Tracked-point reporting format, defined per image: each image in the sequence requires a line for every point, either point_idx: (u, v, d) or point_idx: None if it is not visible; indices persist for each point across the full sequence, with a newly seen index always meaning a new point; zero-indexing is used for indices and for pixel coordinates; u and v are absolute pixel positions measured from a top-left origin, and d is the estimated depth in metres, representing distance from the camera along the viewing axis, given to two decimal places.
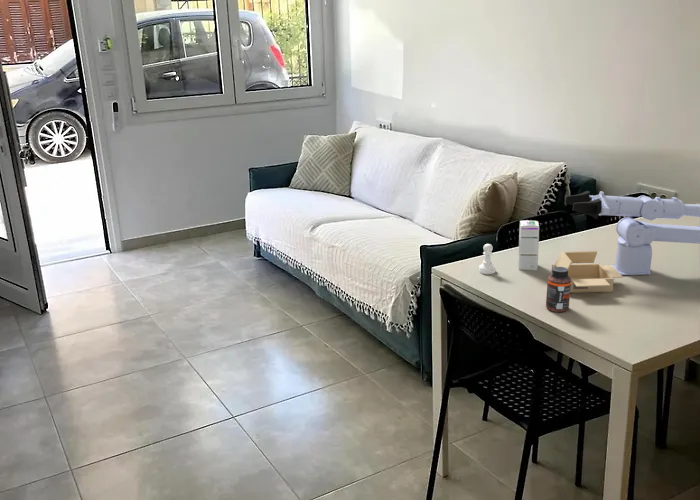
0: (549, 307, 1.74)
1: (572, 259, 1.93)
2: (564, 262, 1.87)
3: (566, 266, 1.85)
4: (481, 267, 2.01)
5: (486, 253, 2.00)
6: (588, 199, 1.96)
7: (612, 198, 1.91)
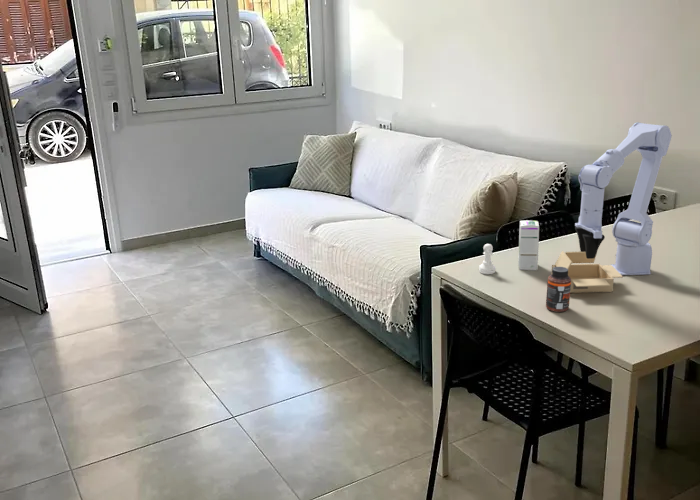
0: (549, 307, 1.74)
1: (572, 259, 1.93)
2: (564, 262, 1.87)
3: (566, 266, 1.85)
4: (481, 267, 2.01)
5: (486, 253, 2.00)
6: (584, 229, 1.86)
7: (583, 216, 1.80)
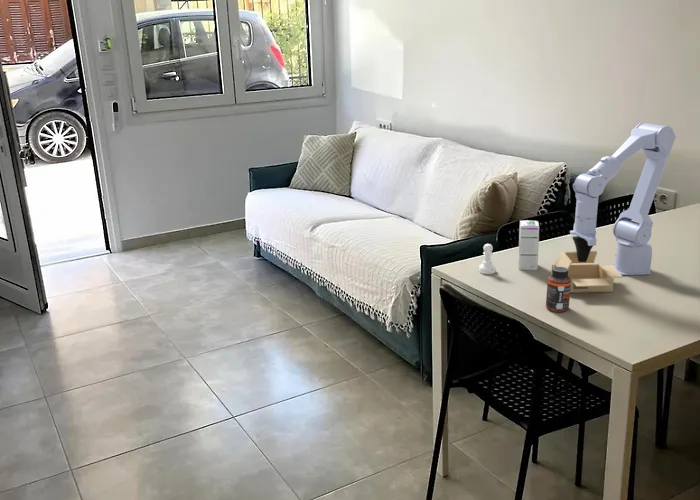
0: (549, 307, 1.74)
1: (572, 259, 1.93)
2: (564, 262, 1.87)
3: (566, 266, 1.85)
4: (481, 267, 2.01)
5: (486, 253, 2.00)
6: None
7: (577, 224, 1.85)
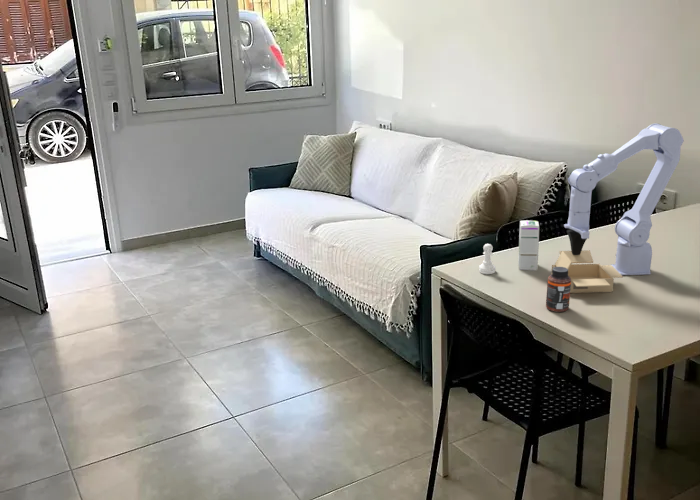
0: (549, 307, 1.74)
1: (569, 258, 1.95)
2: (564, 262, 1.87)
3: (566, 266, 1.85)
4: (481, 267, 2.01)
5: (486, 253, 2.00)
6: None
7: (571, 217, 1.91)
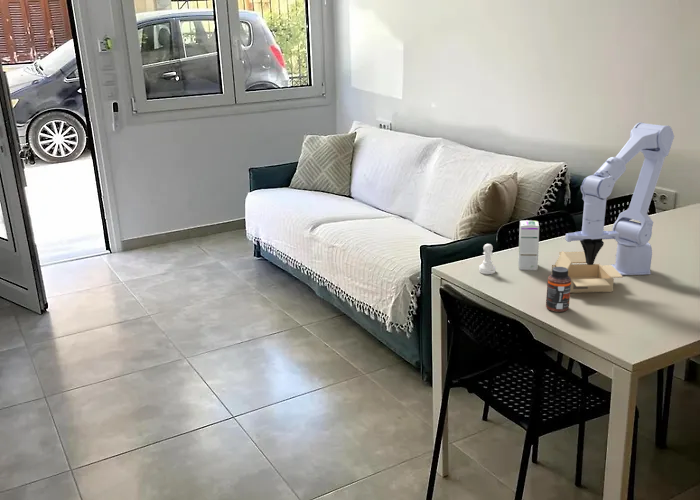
0: (549, 307, 1.74)
1: (569, 258, 1.95)
2: (564, 262, 1.87)
3: (566, 266, 1.85)
4: (481, 267, 2.01)
5: (486, 253, 2.00)
6: None
7: None
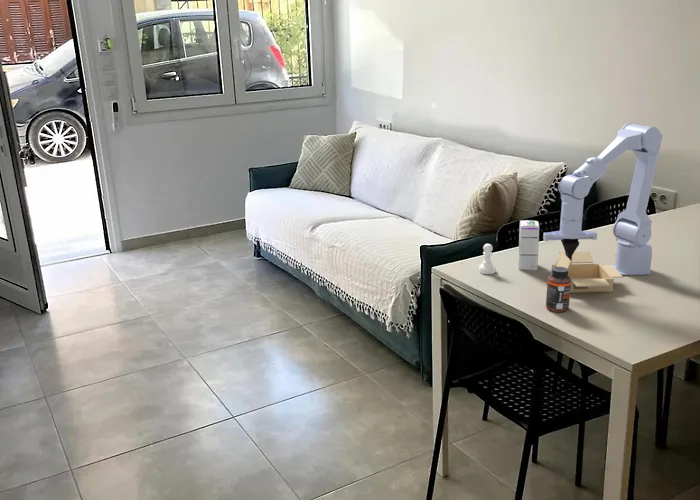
0: (549, 307, 1.74)
1: None
2: (564, 262, 1.87)
3: (566, 266, 1.85)
4: (481, 267, 2.01)
5: (486, 253, 2.00)
6: None
7: None
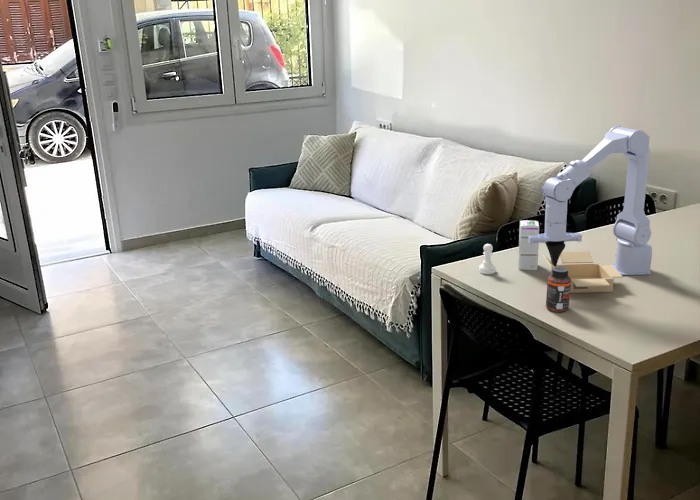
0: (549, 307, 1.74)
1: (569, 258, 1.95)
2: None
3: None
4: (481, 267, 2.01)
5: (486, 253, 2.00)
6: None
7: None
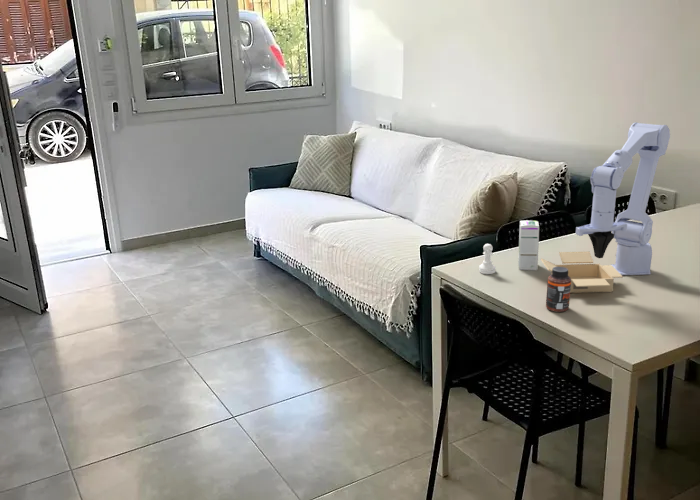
0: (549, 307, 1.74)
1: (569, 258, 1.95)
2: None
3: None
4: (481, 267, 2.01)
5: (486, 253, 2.00)
6: None
7: None
